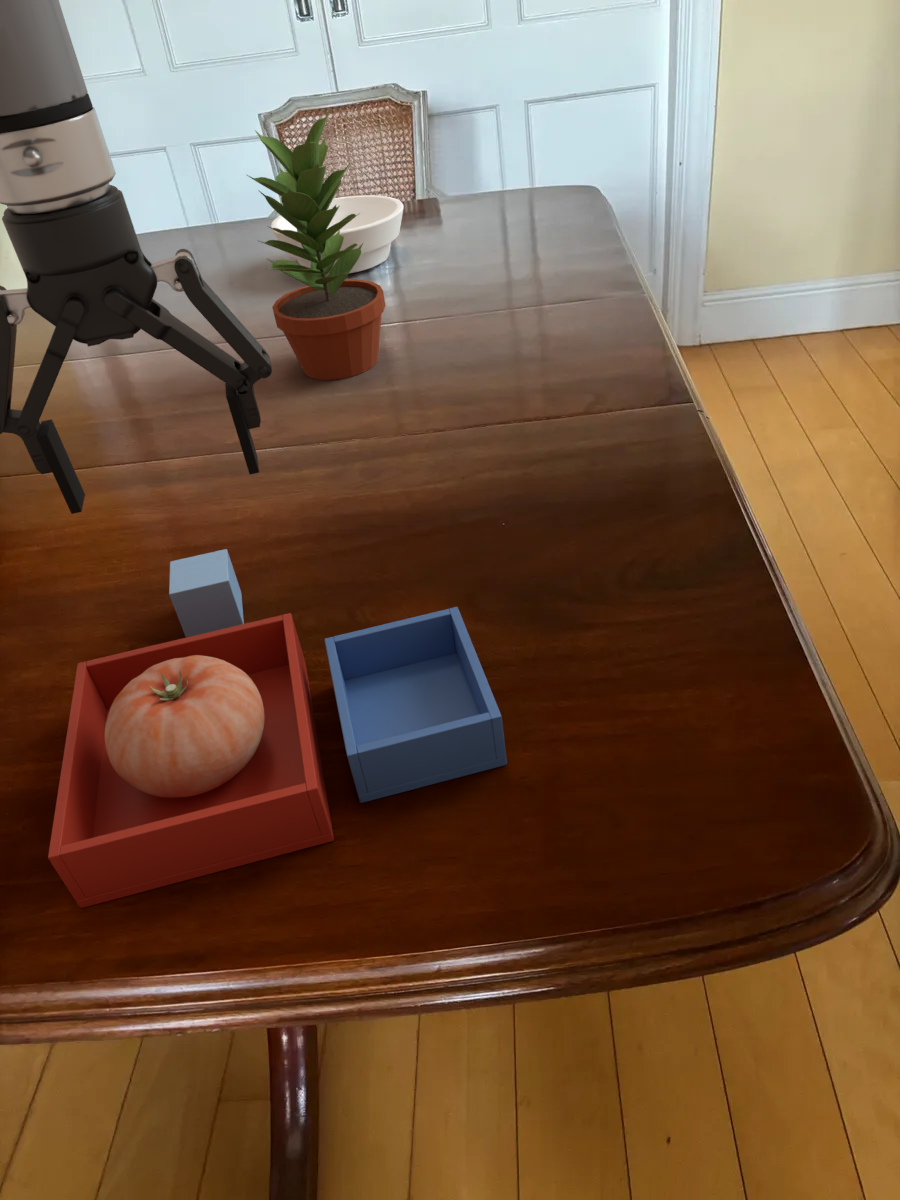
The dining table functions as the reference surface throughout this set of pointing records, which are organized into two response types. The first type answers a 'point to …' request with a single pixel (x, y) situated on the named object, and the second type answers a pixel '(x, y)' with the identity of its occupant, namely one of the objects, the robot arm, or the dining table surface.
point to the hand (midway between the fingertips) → (167, 485)
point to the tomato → (184, 726)
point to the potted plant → (321, 268)
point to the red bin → (205, 821)
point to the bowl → (358, 228)
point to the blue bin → (414, 704)
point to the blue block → (205, 593)
